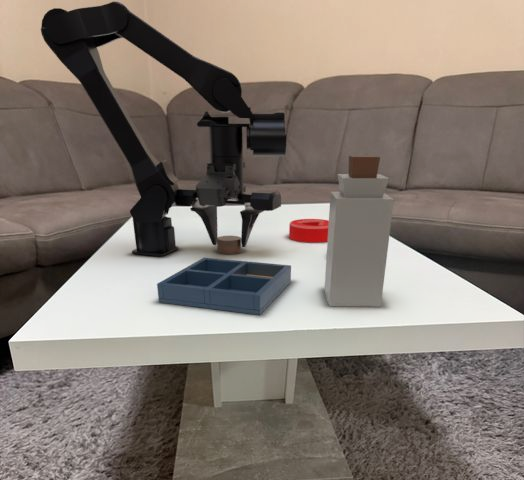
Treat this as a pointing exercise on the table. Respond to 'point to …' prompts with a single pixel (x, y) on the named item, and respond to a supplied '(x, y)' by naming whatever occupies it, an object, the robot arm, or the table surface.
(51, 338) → the table surface
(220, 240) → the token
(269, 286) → the holder
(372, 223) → the perfume bottle
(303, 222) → the red ring
